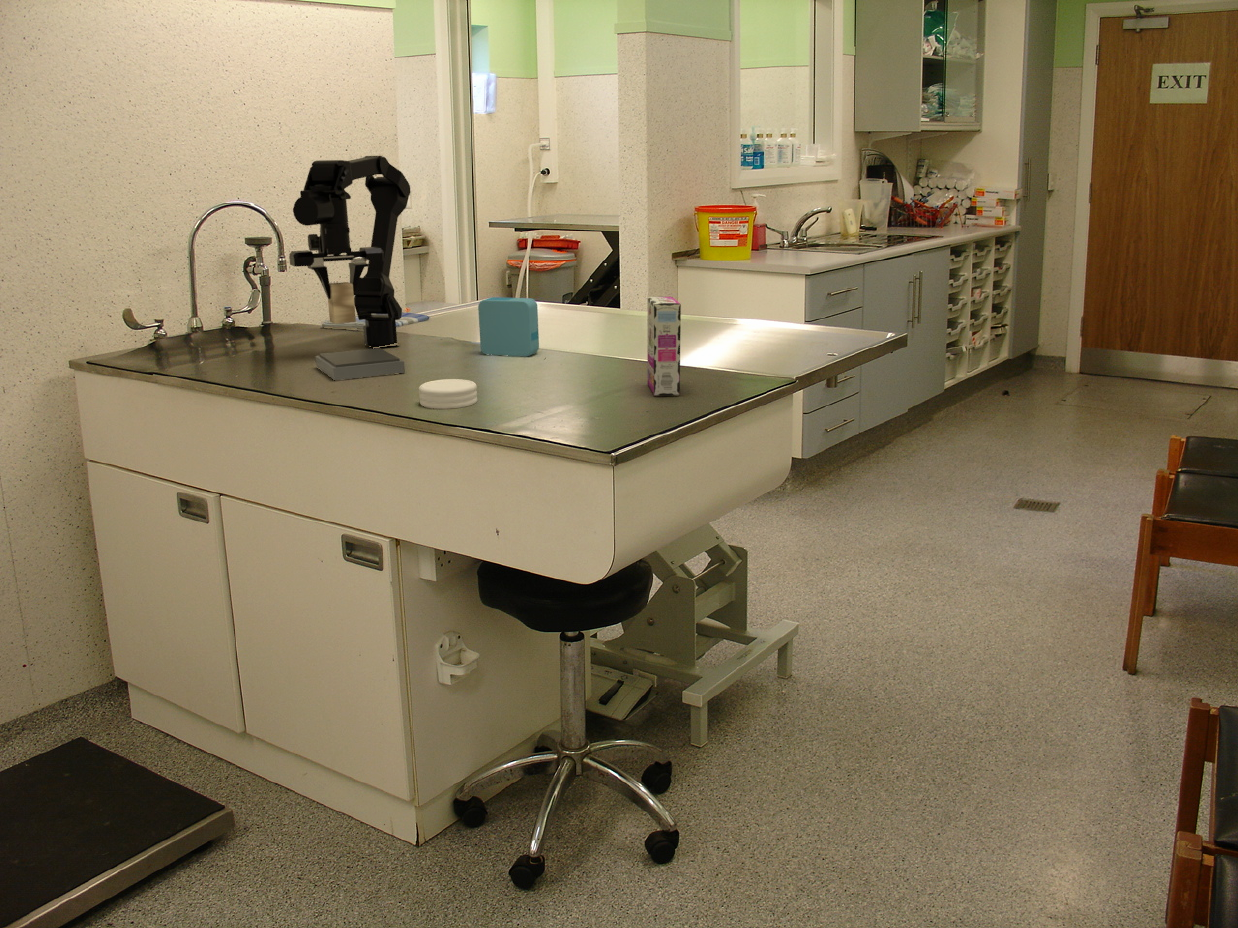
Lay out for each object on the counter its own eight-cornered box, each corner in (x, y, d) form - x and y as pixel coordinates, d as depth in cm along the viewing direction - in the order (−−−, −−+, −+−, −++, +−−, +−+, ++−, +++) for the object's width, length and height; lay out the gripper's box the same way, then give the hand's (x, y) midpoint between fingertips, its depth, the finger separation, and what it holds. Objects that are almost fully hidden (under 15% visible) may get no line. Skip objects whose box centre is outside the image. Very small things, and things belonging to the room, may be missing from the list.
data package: (539, 353, 235) (537, 298, 231) (531, 357, 231) (529, 301, 227) (489, 351, 239) (486, 297, 235) (480, 355, 234) (477, 299, 231)
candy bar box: (682, 396, 191) (681, 303, 186) (653, 397, 191) (652, 304, 186) (673, 383, 202) (673, 295, 197) (646, 384, 201) (645, 296, 197)
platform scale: (383, 361, 229) (382, 347, 228) (405, 373, 216) (403, 358, 215) (316, 368, 223) (315, 353, 222) (334, 381, 209) (333, 365, 209)
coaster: (435, 396, 195) (434, 377, 194) (486, 399, 193) (485, 379, 192) (409, 408, 186) (408, 388, 185) (462, 411, 183) (461, 391, 182)
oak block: (350, 319, 234) (347, 282, 232) (355, 322, 230) (352, 284, 228) (329, 321, 232) (326, 283, 230) (334, 323, 228) (331, 285, 226)
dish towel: (318, 330, 276) (317, 319, 275) (382, 318, 295) (381, 308, 295) (369, 335, 267) (368, 323, 267) (431, 322, 287) (430, 311, 286)
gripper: (368, 219, 236) (374, 291, 241) (280, 223, 228) (288, 297, 233) (382, 221, 227) (387, 296, 231) (291, 225, 219) (298, 302, 223)
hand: (340, 297), depth 230 cm, fingers closed on oak block, 4 cm apart
